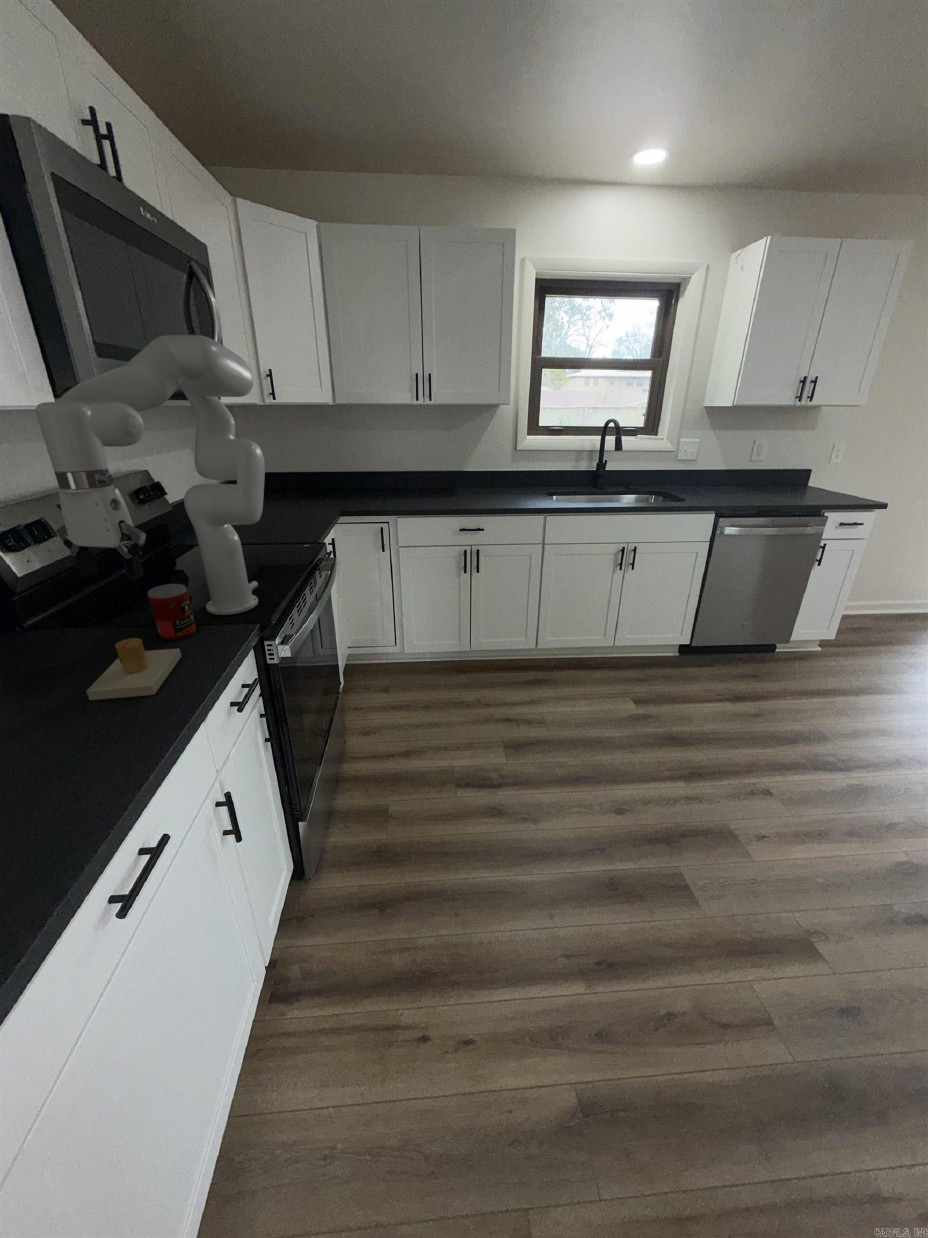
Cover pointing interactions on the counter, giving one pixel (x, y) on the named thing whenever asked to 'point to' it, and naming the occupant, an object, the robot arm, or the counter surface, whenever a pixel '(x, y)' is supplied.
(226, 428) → the robot arm
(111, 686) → the plate
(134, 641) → the tap handle
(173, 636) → the canned food
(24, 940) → the counter surface
